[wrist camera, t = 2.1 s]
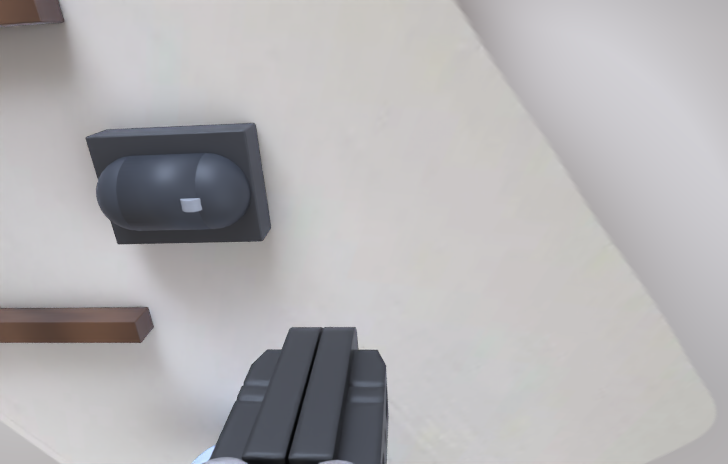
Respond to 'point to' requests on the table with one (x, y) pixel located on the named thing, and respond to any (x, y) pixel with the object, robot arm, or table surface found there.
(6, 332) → the mouse bay
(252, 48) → the table surface
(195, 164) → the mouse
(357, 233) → the table surface
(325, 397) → the robot arm
